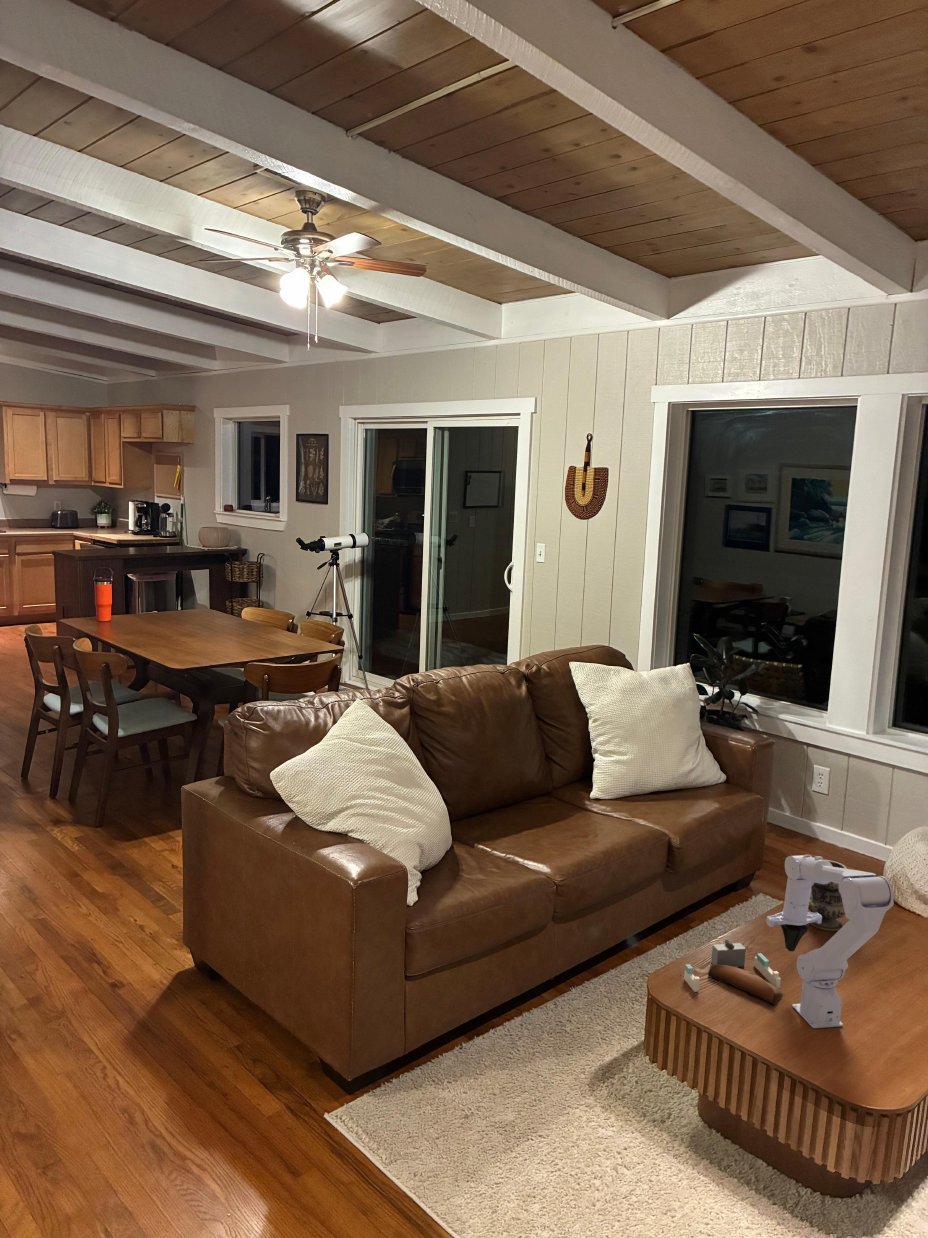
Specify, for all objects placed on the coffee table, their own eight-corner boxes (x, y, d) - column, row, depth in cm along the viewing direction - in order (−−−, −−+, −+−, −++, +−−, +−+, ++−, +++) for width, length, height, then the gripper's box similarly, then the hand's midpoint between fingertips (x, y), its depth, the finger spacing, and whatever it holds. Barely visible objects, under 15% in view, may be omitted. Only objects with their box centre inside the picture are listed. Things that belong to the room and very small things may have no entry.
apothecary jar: (842, 937, 260) (849, 878, 257) (798, 925, 266) (805, 867, 263) (849, 921, 270) (856, 863, 268) (807, 909, 276) (813, 853, 274)
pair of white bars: (779, 988, 232) (781, 973, 231) (696, 994, 227) (697, 979, 227) (757, 965, 242) (759, 951, 242) (677, 970, 238) (678, 956, 237)
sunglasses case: (788, 993, 230) (784, 977, 226) (776, 1015, 226) (772, 999, 222) (722, 965, 242) (718, 949, 238) (710, 986, 238) (706, 970, 235)
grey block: (744, 966, 242) (746, 944, 241) (716, 968, 240) (718, 946, 239) (738, 960, 245) (740, 939, 244) (711, 962, 243) (713, 940, 242)
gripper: (813, 891, 234) (806, 938, 237) (762, 894, 231) (756, 942, 234) (829, 905, 228) (822, 954, 230) (777, 908, 224) (770, 958, 227)
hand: (789, 949), depth 232 cm, fingers closed
